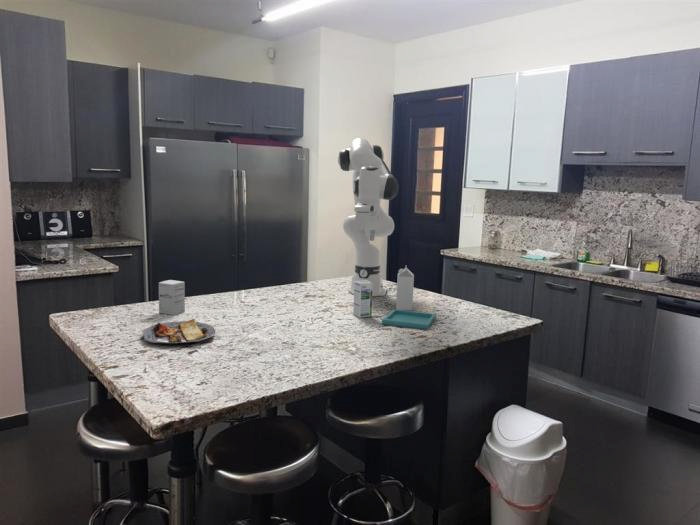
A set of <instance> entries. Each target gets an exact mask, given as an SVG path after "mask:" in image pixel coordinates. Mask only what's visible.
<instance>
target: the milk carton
mask: <svg viewBox="0 0 700 525" xmlns="http://www.w3.org/2000/svg"><path fill="white" fill-rule="evenodd" d="M397 272H398V273H397V282H396V297H395V298H396V301H395V309H396V310H404V311H413V301H414V284H415V282H414V281H415V274H414V273H413V272H411V270H410V269H409V268H408V267H407V266H405V267H404V268H399V270H398V271H397Z"/></svg>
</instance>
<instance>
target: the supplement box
mask: <svg viewBox="0 0 700 525" xmlns="http://www.w3.org/2000/svg"><path fill="white" fill-rule="evenodd" d="M185 285H186V283H185V281H181V280H173V279H168V280H167V279H166V280H163V281H160V282H158V313H159V314H166V315H170V316H177V315H179V314H182V313H184V312H185V310H186V307H185V306H186V303H185V302H186V301H185V300H186V299H185V298H186V297H185V296H186V295H185V294H186V292H185V291H186V290H185V289H186V288H185V287H186V286H185Z"/></svg>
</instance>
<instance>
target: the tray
mask: <svg viewBox="0 0 700 525" xmlns="http://www.w3.org/2000/svg"><path fill="white" fill-rule="evenodd" d="M436 318H437V314H436V313H429V312H421V311H413V310H412V311H409V310H396V308H395V309H394V308H393V309H392V310H391V311H390V312H389V313H388V314H387V315H385V316H384V317H383V318H382V320H381V325H383V324H385V325H386V326H391V325H392V327H401V328H408V329H415V328H417V329H416V330H425V331H428V330H429V329H430V327H431V326H432V324H434V322H435V320H436Z"/></svg>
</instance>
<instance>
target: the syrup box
mask: <svg viewBox="0 0 700 525" xmlns="http://www.w3.org/2000/svg"><path fill="white" fill-rule="evenodd" d="M372 288H373V283H372V282H370V281H367V280H365V281H354V294H353V312H352V313H353V314H352V315H354V316H355V317H356V318H359V319H361V318H369V317H370V318H371V317H372V314H373V312H372V310H373V296H372Z"/></svg>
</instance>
